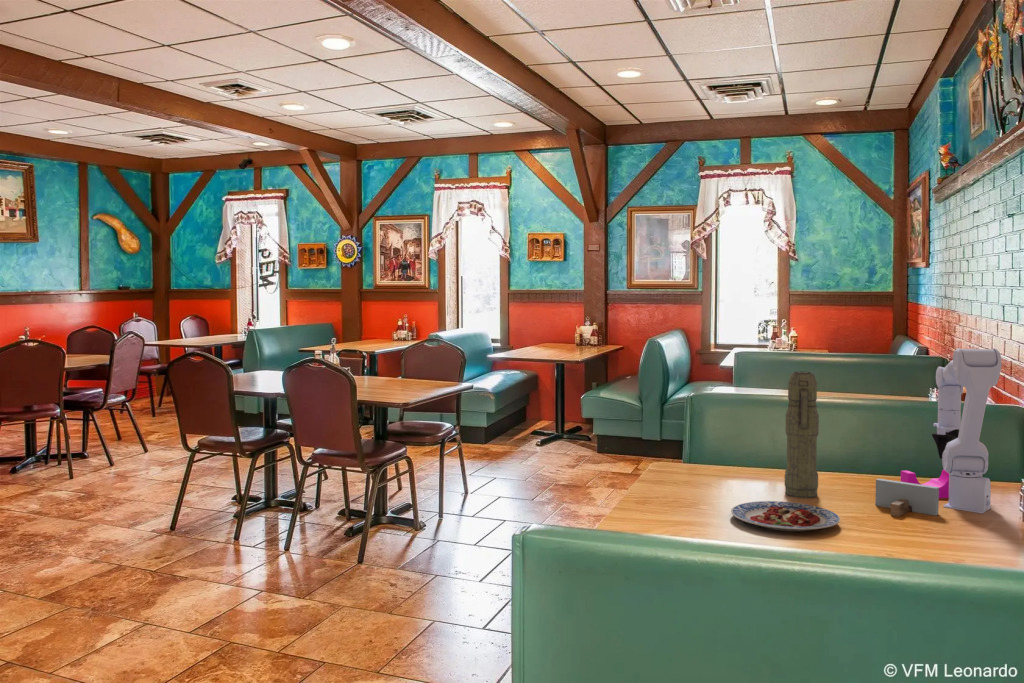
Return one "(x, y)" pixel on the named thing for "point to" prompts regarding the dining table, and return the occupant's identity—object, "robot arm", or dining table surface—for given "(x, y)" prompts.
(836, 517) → the ceramic plate
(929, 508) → the slate plate
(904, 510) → the walnut rail
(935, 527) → the dining table surface
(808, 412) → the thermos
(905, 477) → the toy block
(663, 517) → the dining table surface
